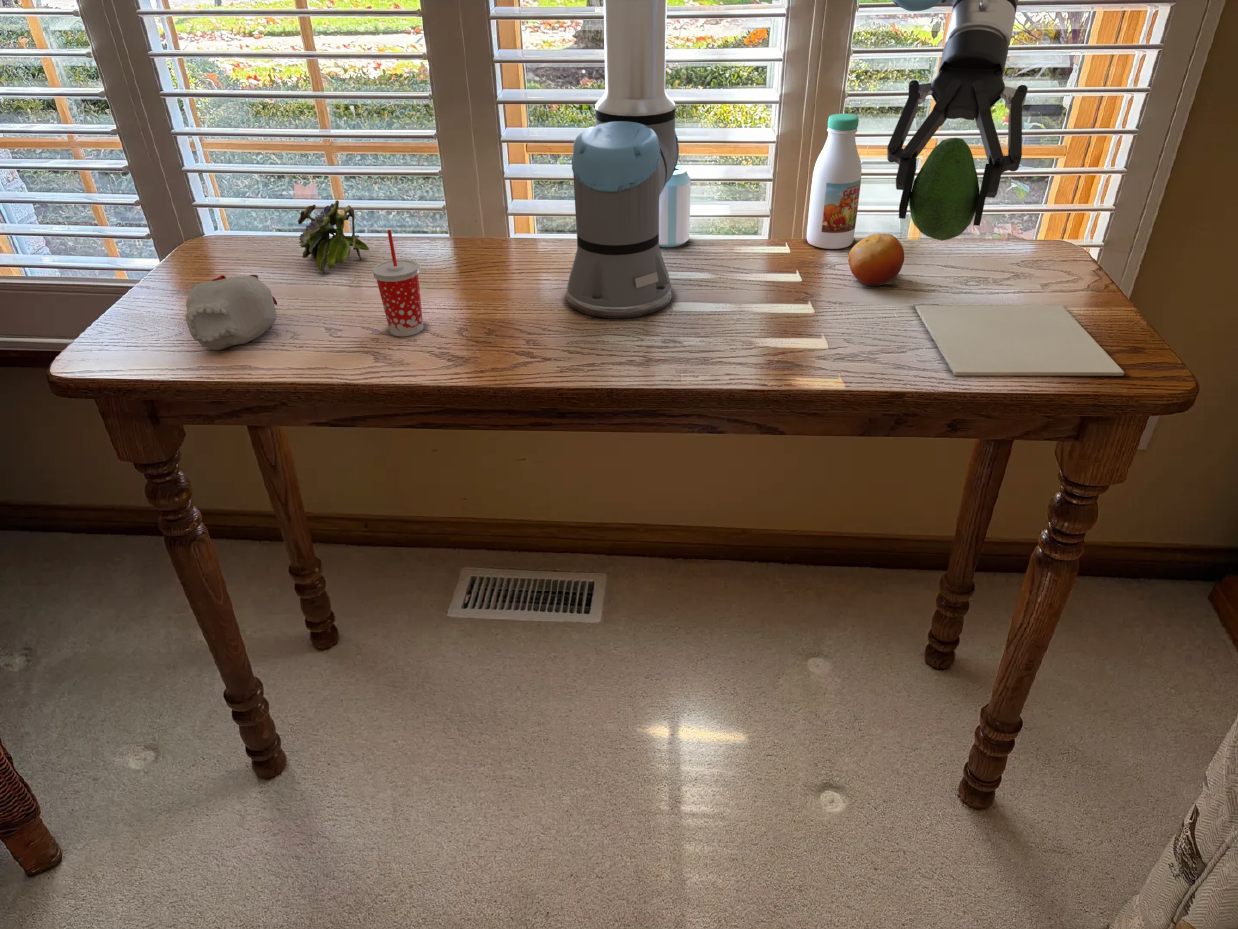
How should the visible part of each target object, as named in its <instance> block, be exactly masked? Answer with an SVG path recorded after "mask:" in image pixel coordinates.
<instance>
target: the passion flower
mask: <svg viewBox="0 0 1238 929" xmlns="http://www.w3.org/2000/svg"><path fill="white" fill-rule="evenodd" d="M316 207H317V206H316V204H312V205H308V206H307V207H306V209H305V210H301V211H300V213H299V214H300V216H299V217H298V219H297V222H298V223H297V225H302V224H303V223H304V222H305V220H306V219H308V220H310V222H309V224H307V225H305V228H304V229H305V230H303V231H302V233H300V234H299V237H298V238H299V242H297V245H298V244H299V245H298V246H300V247H301V248H304V250H303V251H302V256H301V258H302V259H306V258H308V257H309V256H310V257H311V258H312V259H314V260H316V266H317V269H318V271H319V272H322V274H323V275H324V274H325V272H326V271H325V267H326V266H327V269H328V270H330V271H331V270H333V269H334V268H335V267H336V266H337V265H338V264H339V265H342V264H344V263H345V262H346V260H347V259H348V258H349V256H350V253H351V247H352V250H353V251H355V252H356V254H357V256H358V258H359V260H360V261H362V257H361V253H360V250H363V251H370V248H369V247H368V245H367V244H366V243H365V242H363V241H362V240H361V239H359V237H360V235H358V234H355V233H356V229H355V228H356V227H355V218H356V217H355V216H356V215H355V209H353V208H352V206H351V205H347V206H346V207H345V209H343V212H344V213H339V208H340V201H339V200H338V199H337V200H335V201H334V203H331V204H330V205H326V206H325V207H324V209H323V210H321V212H320V213H319V214H317V215H315V216H314V217H312V216H311V214H312V213H313V211H315V209H316ZM350 218H351V229H352V230H351V232H352V233H351V236H350V235H345V234H344V227H345V221H349V220H350ZM335 227H336V228H335ZM330 235H331V236H330ZM326 263H327V264H326Z"/></svg>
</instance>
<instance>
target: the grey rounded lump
mask: <svg viewBox="0 0 1238 929" xmlns="http://www.w3.org/2000/svg"><path fill="white" fill-rule="evenodd" d="M185 305H186V312H185V321H186V325H187V327H188V332H189V334H190V336H191V337H192V340H194V341H196V342H198V344H200V345H201V347H204V348H206V349H209V350H211V351H222V350H224V349H227V348H229V347H232V346H236V345H245V344H247V343H249V342H252V341H254V340H256V339H257V338H259V337H261V336H262V335H263V334H264V333H265V332H266V331H268V330H270V329H272V326H273V325H274V324H275V322H276V320H277V315H278V313H277V310H276V306H277V305H278V301H277V300H276V298H275V297H274V295H273V294H272V291H271V289H270V288H269V286H268V285H266V283H264V282H262V281H260V279H259V276H258V274H250V275H237V276H232V277H226V276H225V275H223V274H221V275H220V276H218V277H215V278H213V279H212V280H210V281H209V280H208V281H205V282H200V283H194V284H192V286H191V289H190V292H189V294H188V296H187V298H186V303H185Z"/></svg>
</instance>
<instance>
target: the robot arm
mask: <svg viewBox="0 0 1238 929" xmlns="http://www.w3.org/2000/svg"><path fill="white" fill-rule="evenodd" d="M667 1H668V0H603V26H604V27H603V28H604V33H603V35H604V79H605V80H604V81H605V84H604V86H605V88H604V90H605V92H604V94H603V95H602V97H601V98H599V100H598V101H597V102H596V103H595V106H594V107H595V108H594V109H595V110H594V112H595V126H589V127H587V128H585V129H583V130H582V131H581V132H579V133H578V134H577V136H576V137H575V138H574V141H573V143H572V156H571V171H572V174H573V175H572V176H573V189H574V190H573V192H574V193H573V194H574V211H575V224H576V225H575V230H576V252H575V256H574V259H573V262H572V265H571V266H572V267H571V270H570V273H569V278H568V281H567V286H566V295H567V302H568V304H569V306H571V307H572V308H573V309H575V310H576V311H578V312H580V313H583V314H585V315H589V316H592V317H597V318H607V319H628V318H636V317H641V316H646V315H648V314H649V315H650V314H652V313H653V314H654V313H655V312H657V311H659V310H662V309H663V308H665V307H666V306H667V305H668V304H669V303H670V301H671V300H672V282H671V278H670V274H669V273H668V269H667V267H666V264H665V259H664V256H663V254H662V251H661V248H660V246H659V196H660V194H661V192H662V190H663V189H664V187H665V185H666V183H667V182H668V181H669V180H670V178H671V177H672V175H673V173H674V171H675V167H676V166H678V162H679V156H680V145H679V138H678V135H677V132H676V103H675V102H674V100H673V99H671V97H670V96H669V95H668V94H667V92H666V67H667V66H666V65H667V64H666V62H667V60H666V58H667V54H666V53H667V7H668V6H667V4H668V3H667ZM891 1H892V3H894V4H895V5H896V6H897V7H899V8H900V9H903V10H905V11H907V12H922V11H928V10H929V9H932V8H934V7H936V6H937V5H939V4H946V5H952V10H951V13H950V18H949V22H948V28H947V31H946V36H945V42H944V46H943V49H942V54H941V58H940V62H939V67H938V72H937V74H936V76H935V78H934V79H933V80H932V81H931V82H928V83H920V82H919V80H916V79H913V80H911V81H909V82H908V92H907V96H908V97H907V100H906V102H905V104H904V107H903V109H902V111H901V114H900V116H899V119H898V121H897V123H896V125H895V128H894V130H893V133H892V135H891V138H890V139H889V142H888V144H887V146H886V147H887V148H886V159H887V161H888V162H889V163H896V164H898V169H897V171H896V172H897V173H896V177H895V189H896V190H897V191H902V193H901V197H900V202H899V205H898V219H906V217H907V212H908V208H909V199H910V195H911V191H912V187H913V183H914V180H915V178H916V173H917V161H918V160H917V158H918V157H919V155H920V154H921V152H922V151H923V150H924V148H926V146H927V145H928V143H929V142H930V141H931V139H932V138H933V136H934V135H935V134H936V132H937V131H938V130H939V128H940V127H942V126H943V125H944V124H945V122H946V121H947V120H957V119H963V120H967V121H975V124H976V128H977V129H978V131H979V134H980V138H981V143H982V145H983V149H984V152H985V156H986V159H987V163H985V167H984V171H983V176H982V180H981V185H980V188H979V190H980V193H979V199H978V203H977V208H976V213H975V215H974V217H973V224H972V226H977V227H980V226H981V223H982V216H983V212H984V207H985V204H986V198H989V199H990V198H992V199H995V198H996V196H997V195H998V192H999V187H1000V184H1001V183H1000V182H1001V177H1002V175H1003V174H1004V173H1005V172H1008V171H1009V172H1016V171H1018V170H1019V169H1020V166H1021V161H1022V157H1023V107H1024V105H1025V103H1026V99H1027V94H1028V90H1029V87H1028V86H1027V85H1025V84H1020V85H1018V86H1017V87H1012V86H1011V87H1010V86H1006V84H1005V82H1004V73H1005V68H1006V64H1007V58H1008V53H1009V47H1010V44H1011V42H1012V41H1011V40H1012V35H1013V31H1014V26H1015V22H1016V14H1017V8H1018V5H1019V0H891ZM928 96H931V97H932V99H933V101H934V102H935V104H934V105H933V108H932V110H931V111H930V113H929V114H928V115H927V117H926V118H925V120H924V121H923V122H922V124H921V125H920V127H918V129H917V130H916V132H915V133H914V134H913V136H912V137H911V139H910V140H909V141H908V142H907V144H906V145H905V147H904V148H903V146H904V144H905V142H906V139H907V137H908V134H909V132H910V130H911V128H912V125H913V124H914V121H915V118H916V116H917V113H918V111H919V110H918V109H919V105H922V104H923V103H924V102H925V101H926V98H927V97H928ZM1001 99H1003V101H1004V106H1005V108H1006V109H1007V110H1009V112H1008V118H1007V124H1008V125H1007V135H1008V136H1007V155H1005V154H1004V152H1003V150H1002V146H1001V143H1000V139H999V135H998V132H997V129H996V126H995V122H994V118H993V115H992V107H994V106H995V104H997V103H998V102H999V101H1000V100H1001Z"/></svg>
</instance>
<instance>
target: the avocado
mask: <svg viewBox="0 0 1238 929" xmlns="http://www.w3.org/2000/svg"><path fill="white" fill-rule="evenodd" d="M978 177H979V176H978V173H977V168H976V165H975V160H974V156H973V153H972V150H971V148H970V146H969V145H968V143H967V142H966V141H965V140H964V139H963V138H961V137H949V138H946V139H942V140H941V141H940V142H939V143H938V144H936V146H934V147H933V149H932V150H931V151H930V153H929V155H928V156H927V157H926V159H925V161H924V163H923V164H922V166H921V168H920V169H919V171H918V173H917V175H915V177H914V181H913V186H912V190H911V195H910V199H909V204H908V208H909V213H910V219H911V221H912V223H913V225H914V226H915V227H916V228H917V229H918V231H919V232H920V233H921V234H922V235H925V236H926V237H927V238H930V239H934V240H938V241H942V242H943V241H948V240H951V239H955V238H956V237H958V236H960V235H962V234H963V233H964V231H966V229H968V227H969V226H970V225H971V224H972V221H973V220H974V218H975V213H976V208H977V203H978V199H979V194H980V184H979V178H978Z"/></svg>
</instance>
